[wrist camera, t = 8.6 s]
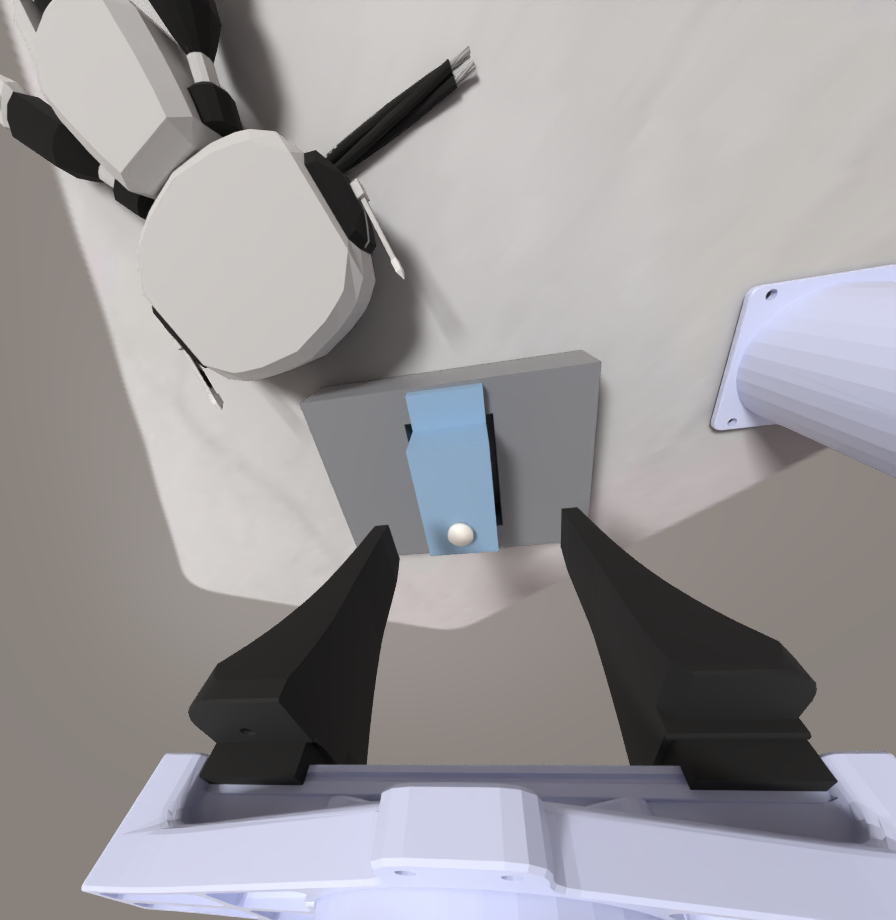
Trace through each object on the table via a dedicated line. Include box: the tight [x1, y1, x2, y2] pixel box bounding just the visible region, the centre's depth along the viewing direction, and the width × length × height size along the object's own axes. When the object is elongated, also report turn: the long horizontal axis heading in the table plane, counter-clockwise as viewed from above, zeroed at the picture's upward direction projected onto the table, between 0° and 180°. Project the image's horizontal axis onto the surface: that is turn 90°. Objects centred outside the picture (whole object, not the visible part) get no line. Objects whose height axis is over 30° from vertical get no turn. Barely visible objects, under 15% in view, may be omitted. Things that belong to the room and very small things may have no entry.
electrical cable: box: [324, 46, 475, 173], centre depth 14 cm, size 12×1×1 cm, turn 117°
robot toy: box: [0, 0, 404, 409], centre depth 14 cm, size 12×4×15 cm
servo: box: [405, 383, 499, 556], centre depth 19 cm, size 4×11×6 cm, turn 8°
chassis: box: [300, 350, 601, 555], centre depth 21 cm, size 16×12×3 cm
